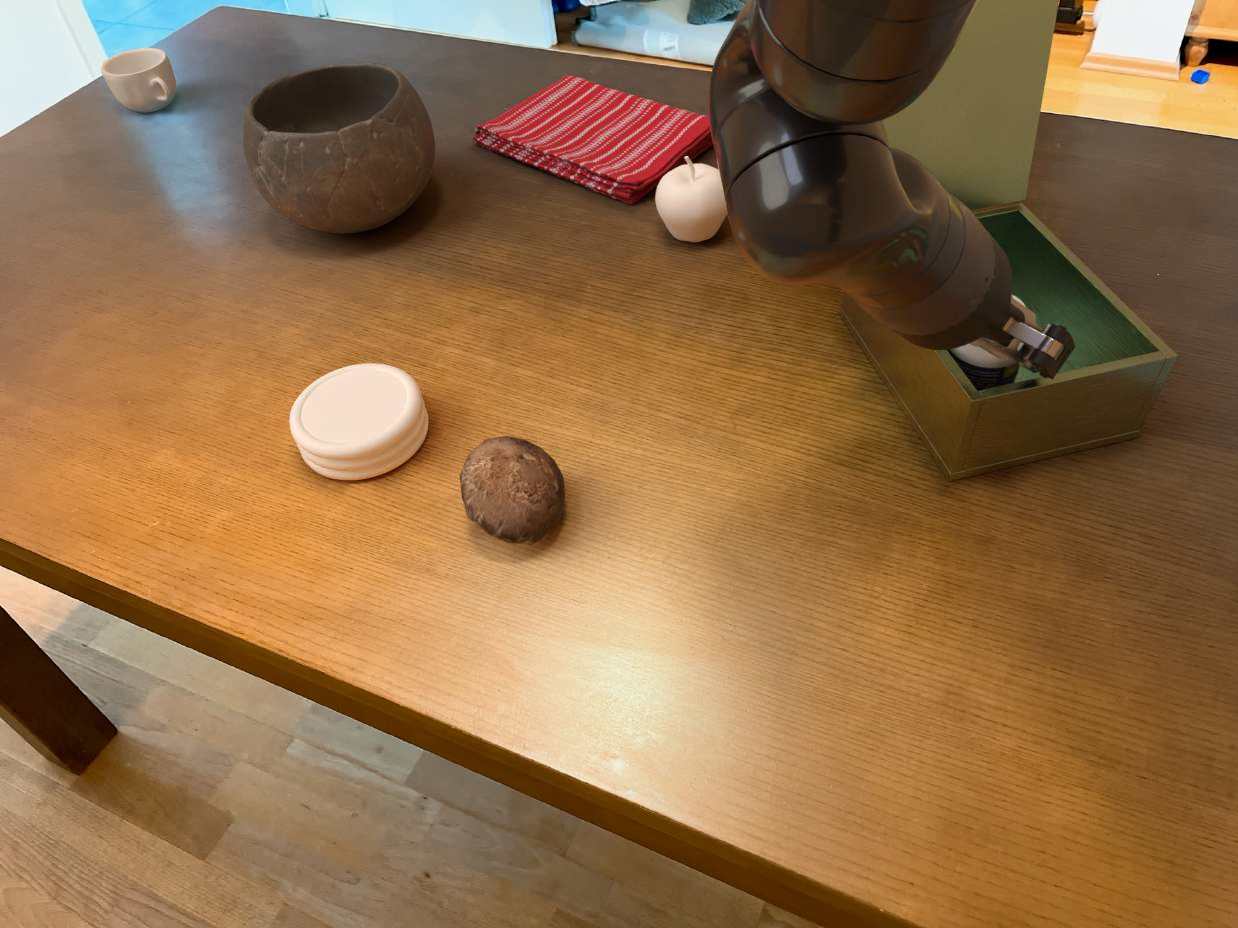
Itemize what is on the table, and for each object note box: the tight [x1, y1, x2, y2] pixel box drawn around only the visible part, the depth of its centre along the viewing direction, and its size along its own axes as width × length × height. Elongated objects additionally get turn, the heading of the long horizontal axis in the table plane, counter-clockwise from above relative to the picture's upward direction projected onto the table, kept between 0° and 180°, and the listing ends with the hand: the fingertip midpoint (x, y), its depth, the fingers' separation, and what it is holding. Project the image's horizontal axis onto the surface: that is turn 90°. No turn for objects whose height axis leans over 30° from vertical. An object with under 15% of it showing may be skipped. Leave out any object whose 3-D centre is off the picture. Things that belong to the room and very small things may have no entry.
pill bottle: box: [947, 295, 1026, 391], centre depth 65 cm, size 5×5×9 cm
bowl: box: [242, 62, 436, 234], centre depth 89 cm, size 18×18×13 cm
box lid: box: [883, 0, 1060, 211], centre depth 68 cm, size 20×15×4 cm
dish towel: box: [472, 74, 713, 205], centre depth 100 cm, size 17×24×3 cm
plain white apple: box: [654, 156, 728, 243], centre depth 85 cm, size 7×7×8 cm
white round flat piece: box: [288, 362, 430, 481], centre depth 70 cm, size 10×10×4 cm
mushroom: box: [459, 435, 566, 546], centre depth 63 cm, size 8×8×6 cm
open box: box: [839, 202, 1179, 482], centre depth 69 cm, size 20×15×8 cm
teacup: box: [100, 47, 177, 113], centre depth 112 cm, size 10×8×5 cm
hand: (998, 336), depth 66 cm, fingers open, 6 cm apart
